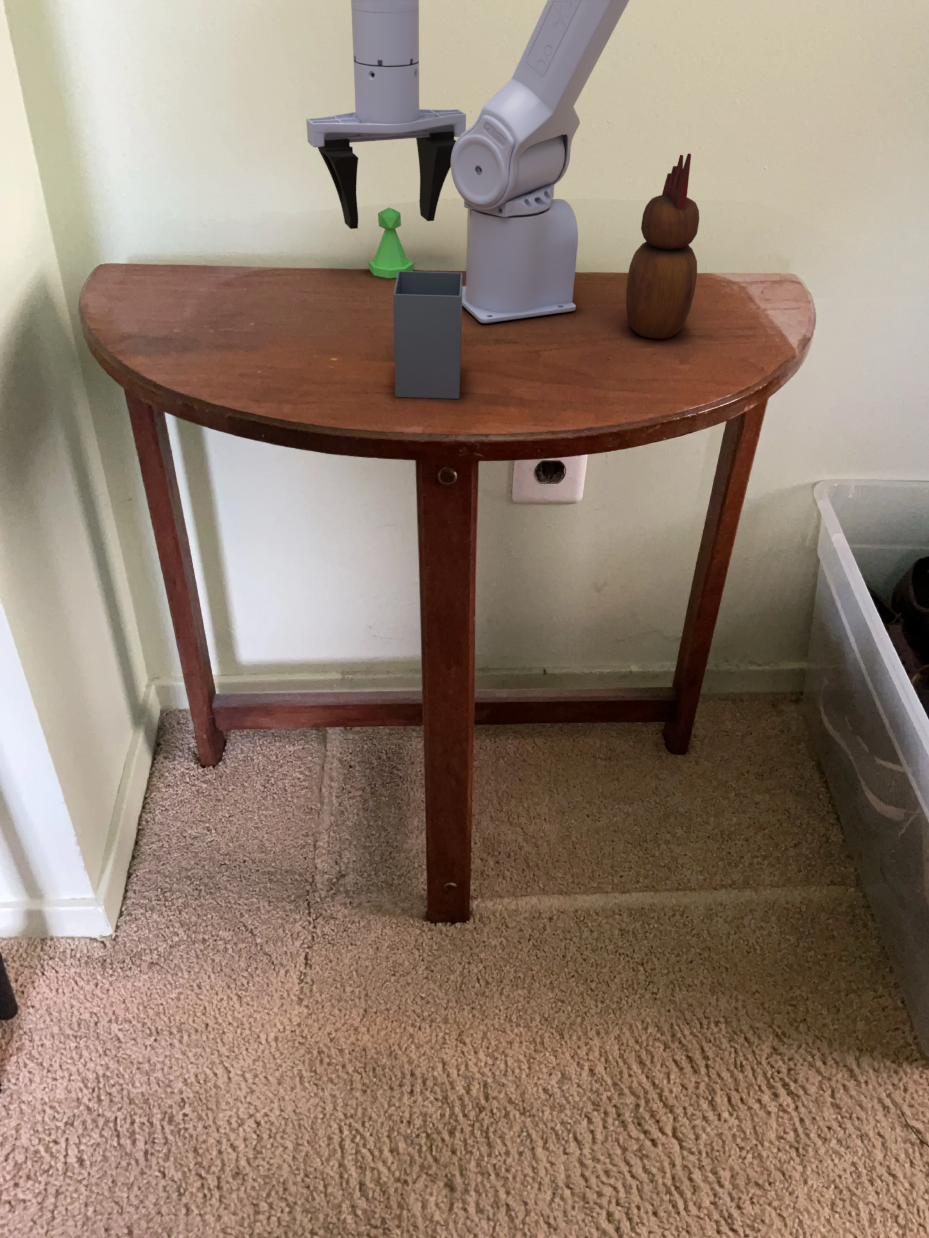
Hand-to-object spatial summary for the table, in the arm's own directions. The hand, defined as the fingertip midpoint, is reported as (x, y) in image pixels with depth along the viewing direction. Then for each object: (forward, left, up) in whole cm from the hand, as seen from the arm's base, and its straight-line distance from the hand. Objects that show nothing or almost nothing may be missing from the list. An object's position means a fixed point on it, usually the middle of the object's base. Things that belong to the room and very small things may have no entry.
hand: (389, 222), depth 95 cm
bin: (+5, +25, -5) cm, 26 cm away
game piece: (0, 0, -5) cm, 5 cm away
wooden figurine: (-17, +22, -5) cm, 28 cm away
